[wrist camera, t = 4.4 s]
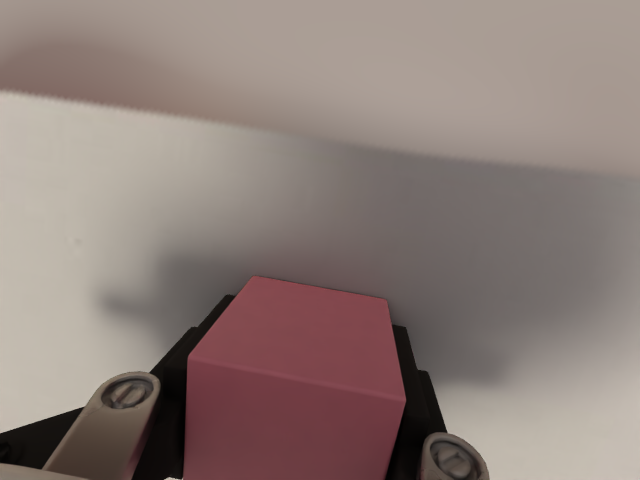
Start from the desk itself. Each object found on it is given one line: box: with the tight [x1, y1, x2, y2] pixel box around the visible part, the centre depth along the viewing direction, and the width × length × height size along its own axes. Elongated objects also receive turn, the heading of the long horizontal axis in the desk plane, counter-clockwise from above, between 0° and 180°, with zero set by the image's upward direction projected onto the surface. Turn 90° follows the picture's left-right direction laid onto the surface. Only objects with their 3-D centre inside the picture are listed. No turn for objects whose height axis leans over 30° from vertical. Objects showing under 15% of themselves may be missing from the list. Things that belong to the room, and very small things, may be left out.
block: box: [183, 276, 406, 480], centre depth 9 cm, size 4×4×4 cm
